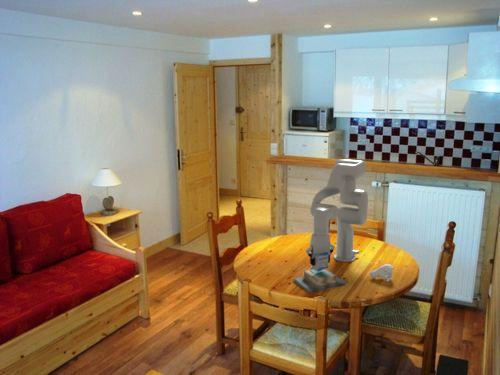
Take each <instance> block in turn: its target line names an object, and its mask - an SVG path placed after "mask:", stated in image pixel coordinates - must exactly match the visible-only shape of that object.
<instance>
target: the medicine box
mask: <svg viewBox="0 0 500 375" xmlns="http://www.w3.org/2000/svg"><path fill="white" fill-rule="evenodd" d="M313 254H314V253H313ZM328 256H329V254H328V252H326V253H321V254H316V255H315V257H314V258H315V265H314V266H313V265H311V270H312V269H313V270H316V271H320V270H323V269H328V268H329V263H328Z"/></svg>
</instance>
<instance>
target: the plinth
mask: <svg viewBox="0 0 500 375" xmlns="http://www.w3.org/2000/svg"><path fill="white" fill-rule="evenodd" d="M293 282H295V284H297V285H299V286H300V287H301V288H302V289H304V291H306V292H307V293H309V294H312V293H317V292H321V291H325V290H330V289H335V288H338V287H344V286H347V282H346V281H345V280H344V279H342V278H340V277H338V276H337V275H336V274H335V273H333V272H332V271H330V270H328V268H326V269H323V270H320V271H316V270H313V269H312V268H311V269H309V270H308V269H307V270H303V276H299V277H295V278H293Z"/></svg>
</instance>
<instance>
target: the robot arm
mask: <svg viewBox="0 0 500 375" xmlns="http://www.w3.org/2000/svg"><path fill="white" fill-rule="evenodd" d="M366 170H367V165H366V162H365V161H363V160H359V159H357V160H356V159H347V158H346V159H343V158H340V159H336V161H335V163H334V165H333V166H332V169H331V172H330V174H329V177H328V181H327V183H326V184H327V185H326V186H324V187H323V188H321V189H320V190H319V191H318V192H317V193H316V194H315V195H314V197H313V199H312V202H311V205H310V211H309V212H310V215H311V216H312V217H313V233H312V234H311V236H310V242H309V243H310V244H309V247H308V248H307V249H306V250H305V253H306V255H307V256H308V257H309V264H310V265H311V266H312V265H313V266H314V265H315V258H314V257H315V255H316V254H321V253H326V252H328V254H329V256H328V264H330V262H331V256H332V254H333V252H334V250H335V248H336V253H335V254H334V255H333V259H334V260H336V261H338V262H341V263H350V262H351V263H352V262H354V261H355V260H356V255H359V254H360V250H359V249H358V250H356V249H354V232H355V230H354V227H353V225H354V226H355V225H356V226H364V225H365V224H366V223H367V218H368V208H369V207H368V206H369V194H368V192H367V191H366V190H365V189H364V190H363V189H357V187H356V186H357V180H358V179H360V178H361V177H363V176H364V175H365V173H366ZM337 195H340V196H339V201H340V203H341V204H342V205H347V206H340V207H338V206H336V205H334V204H327V203H321V202H322V201H324V200H325V199H326V198H327V199H328V198H330V197H332V196H333V197H334V196H337ZM349 206H351V207H349ZM352 206H355V207H352ZM356 207H357V208H356ZM334 219H336V225H337V226H336V228H337V231H336V234H337V235H336V246H335V245H333V244H331V236H330V233H329V231H331V228H330V227H329V224H330V223H329V221H331V220H334ZM313 253H314V254H313Z"/></svg>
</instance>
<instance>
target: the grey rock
mask: <svg viewBox="0 0 500 375" xmlns="http://www.w3.org/2000/svg"><path fill="white" fill-rule="evenodd" d="M393 267H394V266H393V265H391V264H389V263H386V264H383V265H381V266H380V267H378V268H377V269H375V270H371V271H370V272H369V276H370V277H371V279H372V280H375V279H376V278H381V279H383V280H386V282H387V283H388V282H390V281H391V280H392V278H393V275H394V268H393Z"/></svg>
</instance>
